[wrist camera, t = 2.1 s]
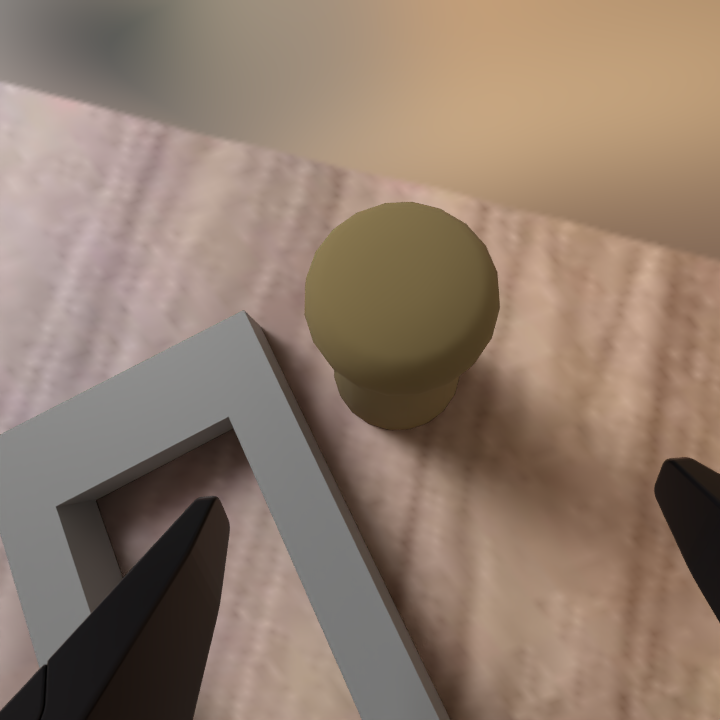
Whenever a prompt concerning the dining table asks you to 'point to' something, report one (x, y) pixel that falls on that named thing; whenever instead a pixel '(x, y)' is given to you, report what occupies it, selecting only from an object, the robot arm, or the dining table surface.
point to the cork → (401, 310)
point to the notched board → (169, 441)
